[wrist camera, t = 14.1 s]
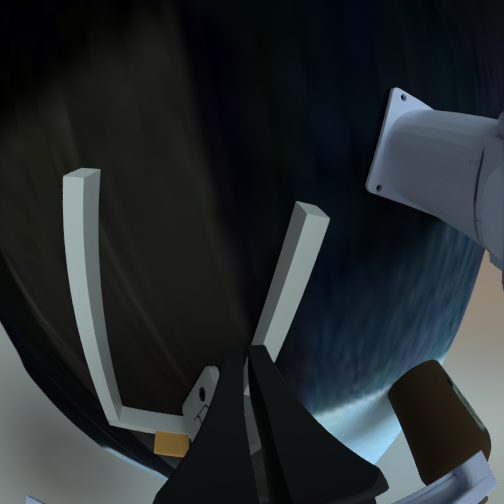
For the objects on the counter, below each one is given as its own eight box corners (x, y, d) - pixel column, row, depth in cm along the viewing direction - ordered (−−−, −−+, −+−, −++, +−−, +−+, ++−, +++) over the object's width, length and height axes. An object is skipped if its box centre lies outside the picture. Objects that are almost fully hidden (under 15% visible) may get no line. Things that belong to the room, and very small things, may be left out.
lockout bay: (316, 205, 18) (351, 239, 13) (235, 424, 30) (238, 460, 25) (81, 167, 15) (35, 189, 10) (113, 409, 27) (106, 444, 22)
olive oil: (388, 408, 35) (438, 524, 13) (378, 387, 30) (442, 535, 8) (441, 374, 33) (501, 482, 11) (441, 344, 29) (523, 478, 7)
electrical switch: (207, 360, 23) (220, 451, 16) (256, 367, 25) (279, 449, 18) (180, 405, 27) (187, 476, 19) (222, 409, 29) (234, 477, 21)
